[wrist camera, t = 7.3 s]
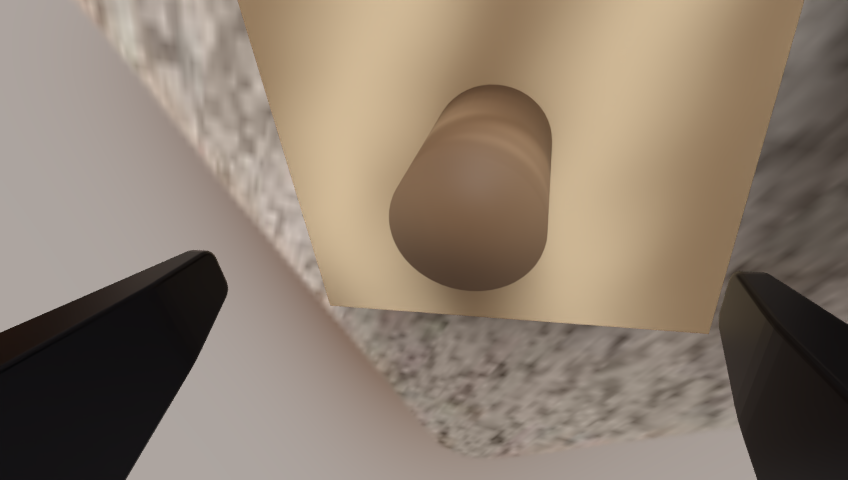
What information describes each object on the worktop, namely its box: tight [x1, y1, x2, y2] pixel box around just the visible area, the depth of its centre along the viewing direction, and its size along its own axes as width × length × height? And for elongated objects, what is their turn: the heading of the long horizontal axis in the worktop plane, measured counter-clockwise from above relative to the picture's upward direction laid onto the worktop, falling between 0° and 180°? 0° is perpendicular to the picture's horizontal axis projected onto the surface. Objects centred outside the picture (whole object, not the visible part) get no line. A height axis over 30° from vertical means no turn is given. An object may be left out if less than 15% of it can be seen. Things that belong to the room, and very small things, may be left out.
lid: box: [238, 0, 804, 334], centre depth 12 cm, size 13×13×5 cm
